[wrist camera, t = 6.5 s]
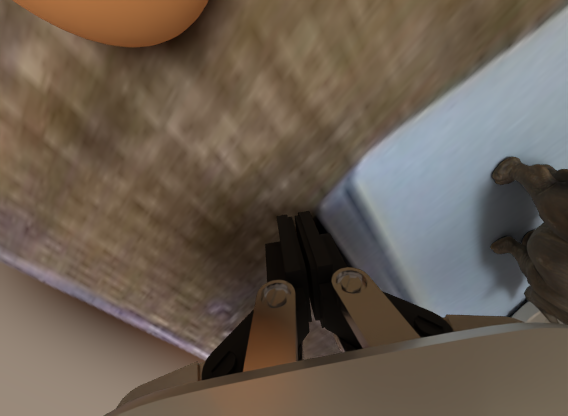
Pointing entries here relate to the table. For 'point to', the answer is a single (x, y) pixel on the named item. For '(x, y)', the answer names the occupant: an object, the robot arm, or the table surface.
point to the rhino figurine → (541, 236)
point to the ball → (119, 18)
